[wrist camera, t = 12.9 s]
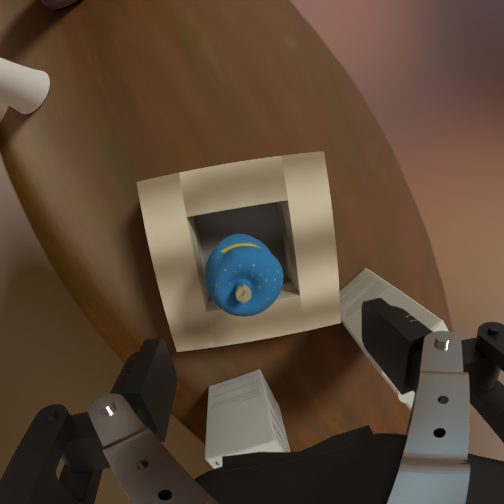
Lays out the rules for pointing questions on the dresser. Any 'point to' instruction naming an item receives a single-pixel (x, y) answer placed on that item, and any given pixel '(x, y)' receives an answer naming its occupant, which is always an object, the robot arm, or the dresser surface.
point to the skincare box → (376, 287)
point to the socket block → (250, 223)
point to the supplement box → (243, 419)
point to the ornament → (243, 276)
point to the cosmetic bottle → (22, 86)
